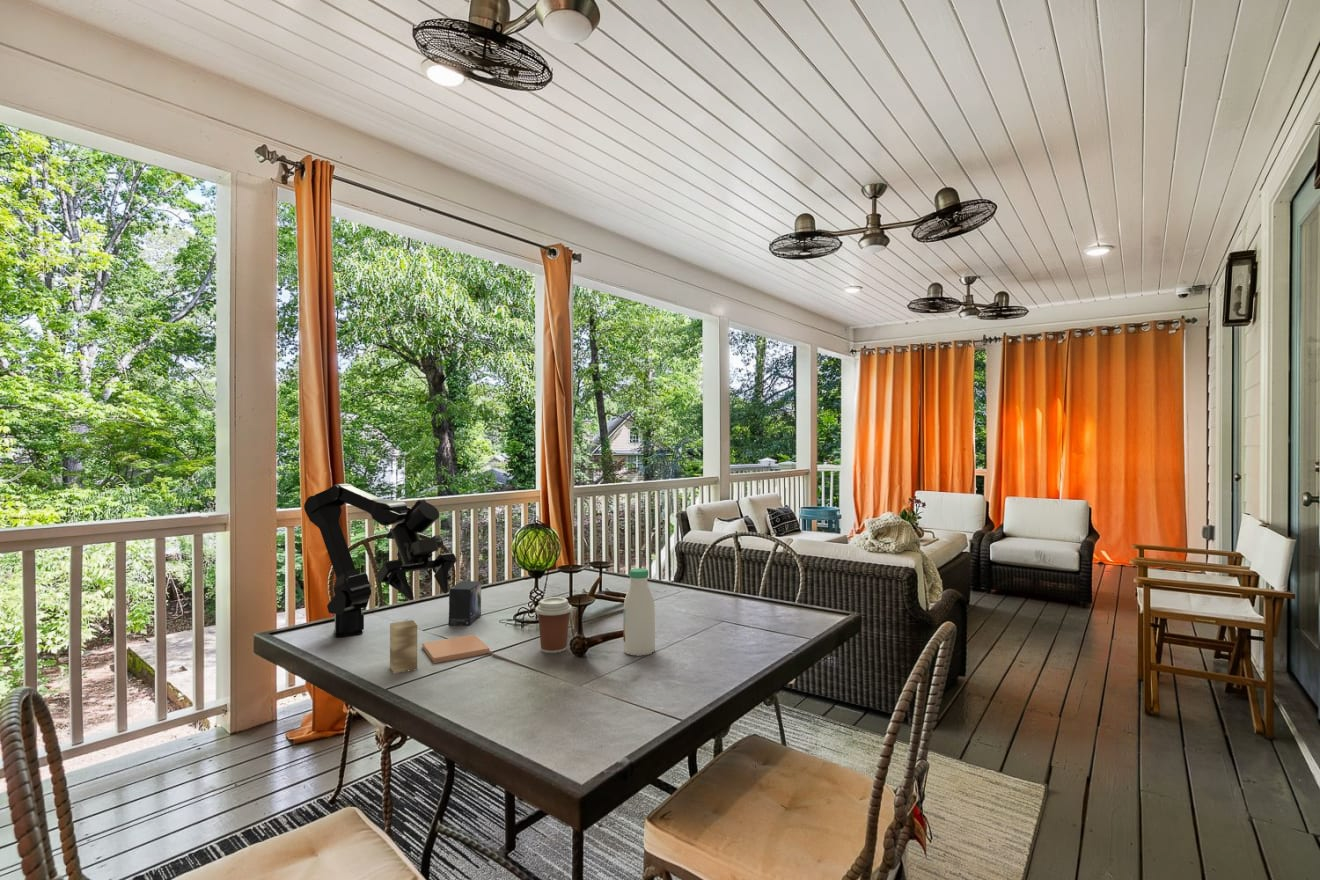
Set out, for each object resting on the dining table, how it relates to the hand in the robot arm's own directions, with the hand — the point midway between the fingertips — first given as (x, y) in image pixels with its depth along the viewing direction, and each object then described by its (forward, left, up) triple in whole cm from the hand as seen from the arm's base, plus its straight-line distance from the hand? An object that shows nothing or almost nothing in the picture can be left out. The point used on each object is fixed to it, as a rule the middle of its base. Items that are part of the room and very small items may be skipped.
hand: (429, 596), depth 152 cm
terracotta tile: (+6, -3, -14) cm, 15 cm away
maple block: (-7, -9, -14) cm, 18 cm away
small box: (+15, +22, -14) cm, 30 cm away
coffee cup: (+27, -15, -14) cm, 33 cm away
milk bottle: (+44, -28, -14) cm, 53 cm away
